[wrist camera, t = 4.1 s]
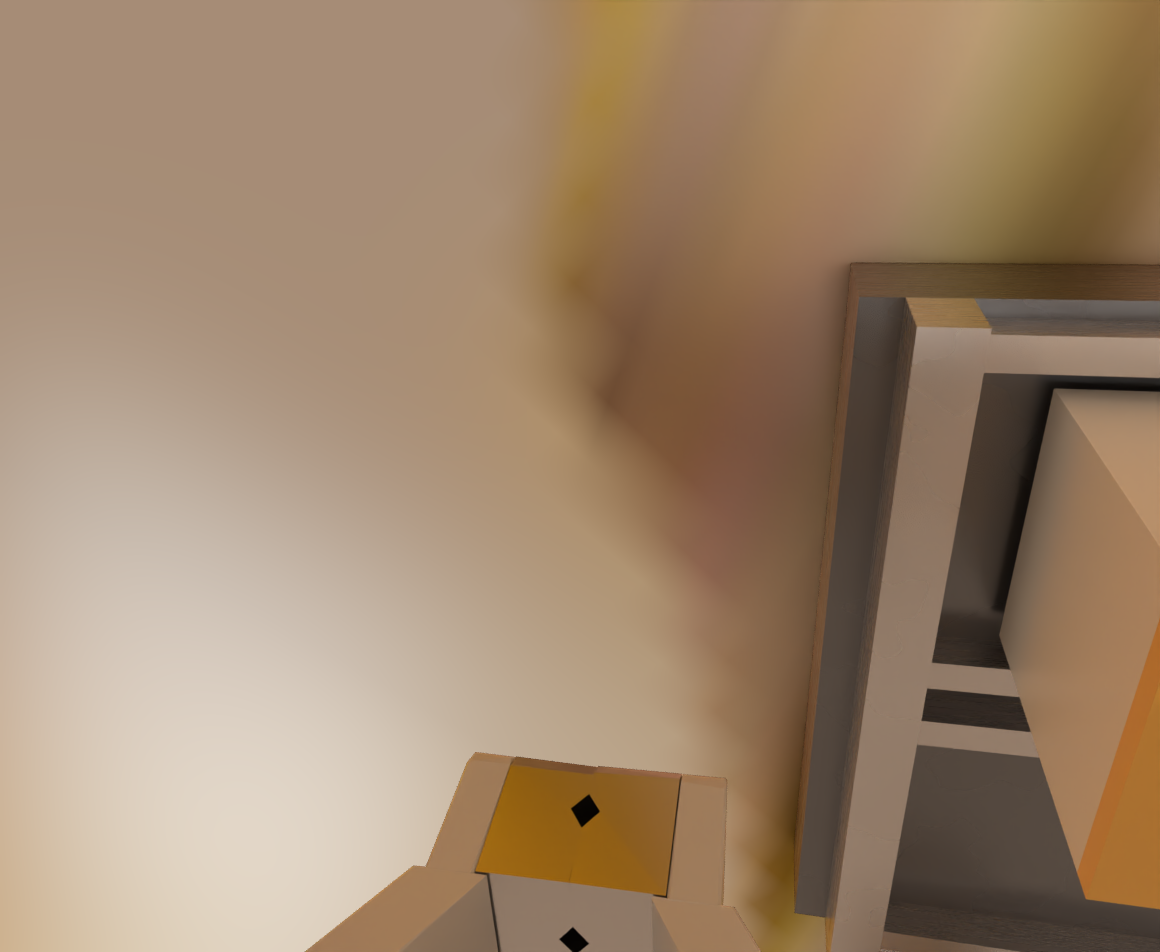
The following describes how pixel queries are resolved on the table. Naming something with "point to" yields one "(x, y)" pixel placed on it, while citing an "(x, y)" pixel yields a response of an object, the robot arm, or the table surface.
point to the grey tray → (949, 610)
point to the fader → (1095, 634)
